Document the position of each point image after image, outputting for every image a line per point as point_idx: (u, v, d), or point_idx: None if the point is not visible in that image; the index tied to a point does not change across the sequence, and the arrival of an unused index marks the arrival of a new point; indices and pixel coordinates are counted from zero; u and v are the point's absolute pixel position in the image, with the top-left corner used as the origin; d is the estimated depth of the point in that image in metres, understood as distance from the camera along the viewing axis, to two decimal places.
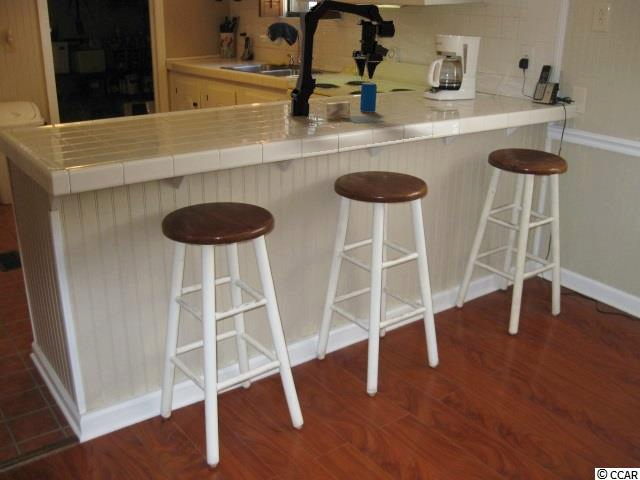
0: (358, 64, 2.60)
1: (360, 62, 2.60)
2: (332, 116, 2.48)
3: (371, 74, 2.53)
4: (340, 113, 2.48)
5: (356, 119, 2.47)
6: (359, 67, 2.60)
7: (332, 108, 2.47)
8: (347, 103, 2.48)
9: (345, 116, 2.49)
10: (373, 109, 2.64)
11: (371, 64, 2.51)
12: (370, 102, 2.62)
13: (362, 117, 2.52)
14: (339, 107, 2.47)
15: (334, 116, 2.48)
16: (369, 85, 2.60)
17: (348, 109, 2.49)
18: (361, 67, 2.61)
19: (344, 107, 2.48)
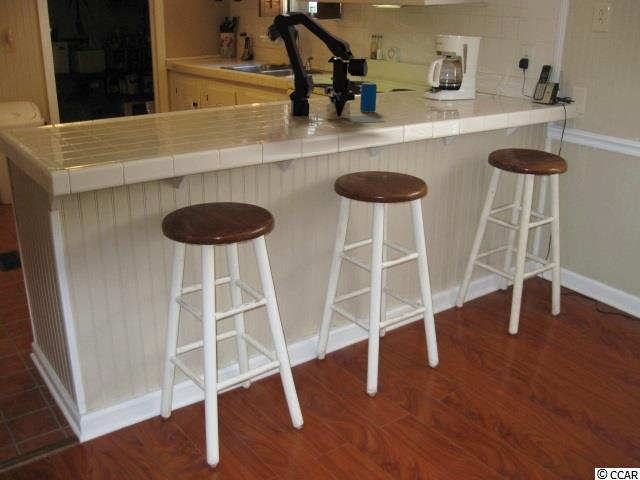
0: None
1: None
2: (332, 116, 2.48)
3: (340, 111, 2.47)
4: None
5: (356, 119, 2.47)
6: None
7: (332, 108, 2.47)
8: (347, 103, 2.48)
9: (345, 116, 2.49)
10: (373, 109, 2.64)
11: (339, 101, 2.45)
12: (370, 102, 2.62)
13: (362, 117, 2.52)
14: None
15: (334, 116, 2.48)
16: (369, 85, 2.60)
17: (348, 109, 2.49)
18: None
19: (344, 107, 2.48)
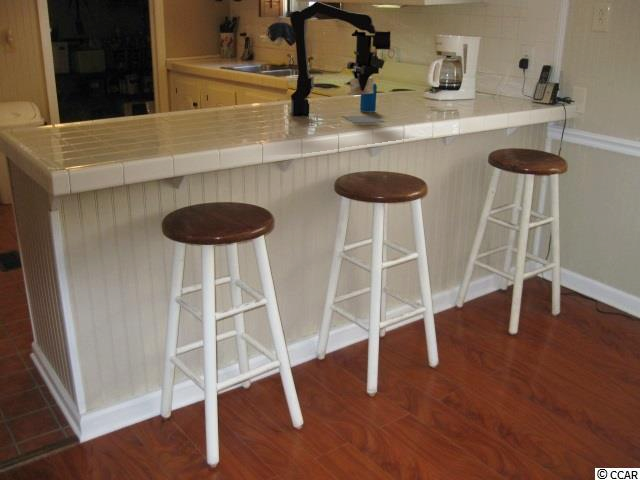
0: (356, 77, 2.47)
1: None
2: (355, 92, 2.46)
3: (363, 86, 2.45)
4: None
5: (356, 119, 2.47)
6: None
7: (356, 83, 2.45)
8: (371, 78, 2.46)
9: (368, 92, 2.48)
10: (373, 109, 2.64)
11: (363, 75, 2.43)
12: (370, 102, 2.62)
13: (362, 117, 2.52)
14: None
15: (357, 92, 2.46)
16: None
17: (371, 85, 2.47)
18: None
19: (368, 82, 2.46)
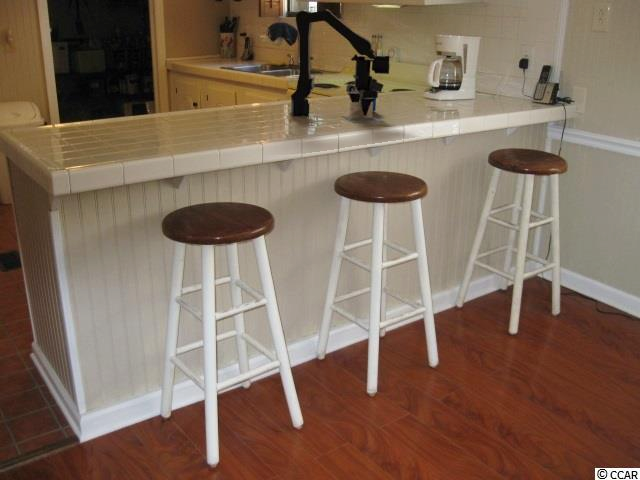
0: (352, 99, 2.53)
1: (354, 97, 2.53)
2: (354, 115, 2.50)
3: (365, 110, 2.46)
4: None
5: (356, 119, 2.47)
6: None
7: (355, 107, 2.49)
8: None
9: (367, 116, 2.51)
10: (373, 109, 2.64)
11: (365, 100, 2.44)
12: None
13: None
14: None
15: (357, 115, 2.50)
16: None
17: (371, 109, 2.51)
18: None
19: None
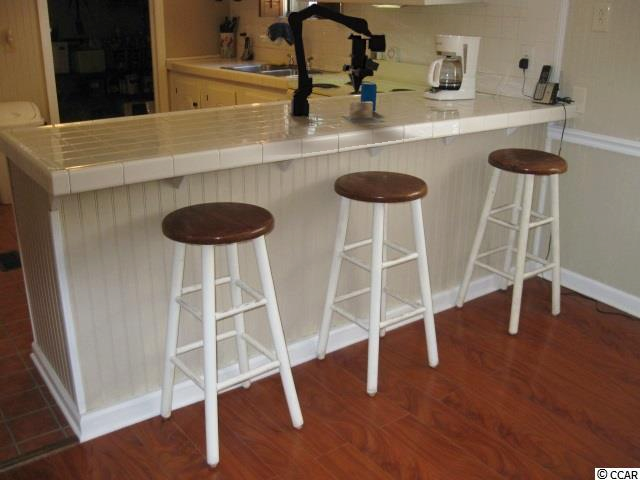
0: None
1: None
2: (354, 115, 2.50)
3: (357, 87, 2.51)
4: (363, 113, 2.50)
5: (356, 119, 2.47)
6: None
7: (355, 107, 2.49)
8: (370, 103, 2.50)
9: (367, 116, 2.51)
10: (373, 109, 2.64)
11: (357, 77, 2.49)
12: None
13: None
14: (362, 107, 2.49)
15: (357, 115, 2.50)
16: (369, 85, 2.60)
17: (371, 109, 2.51)
18: None
19: (367, 107, 2.50)
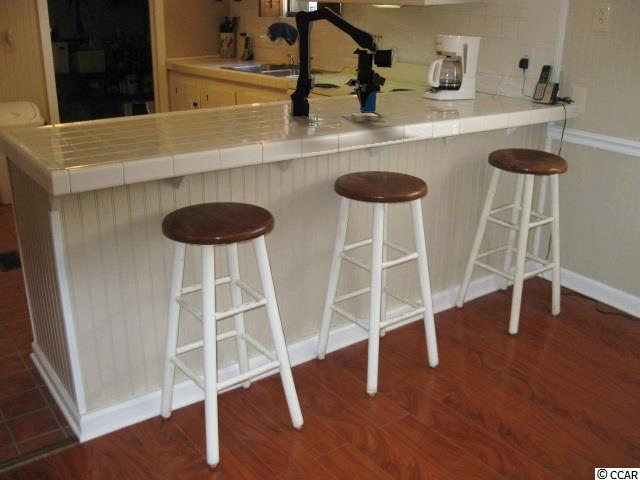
0: (359, 95, 2.47)
1: None
2: None
3: (364, 103, 2.47)
4: None
5: None
6: None
7: None
8: None
9: None
10: (373, 109, 2.64)
11: (363, 93, 2.45)
12: (370, 102, 2.62)
13: None
14: None
15: None
16: None
17: None
18: None
19: None
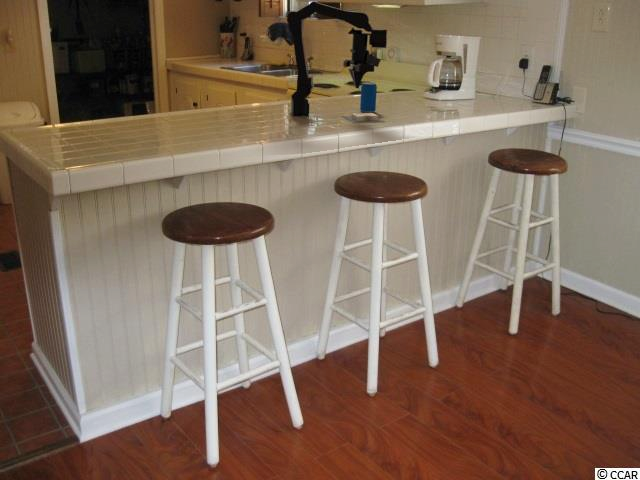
0: None
1: None
2: None
3: (358, 83, 2.47)
4: None
5: None
6: None
7: None
8: None
9: None
10: (373, 109, 2.64)
11: (358, 73, 2.45)
12: (370, 102, 2.62)
13: None
14: None
15: None
16: (369, 85, 2.60)
17: None
18: None
19: None
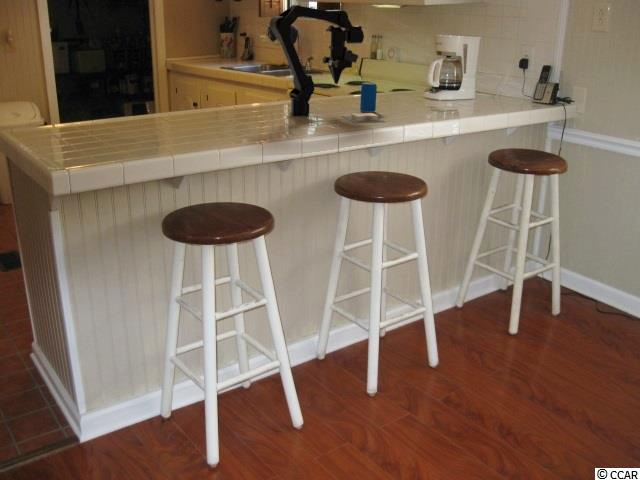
0: None
1: None
2: None
3: (337, 79, 2.56)
4: None
5: None
6: None
7: None
8: None
9: None
10: (373, 109, 2.64)
11: (336, 69, 2.54)
12: (370, 102, 2.62)
13: None
14: None
15: None
16: (369, 85, 2.60)
17: None
18: None
19: None
